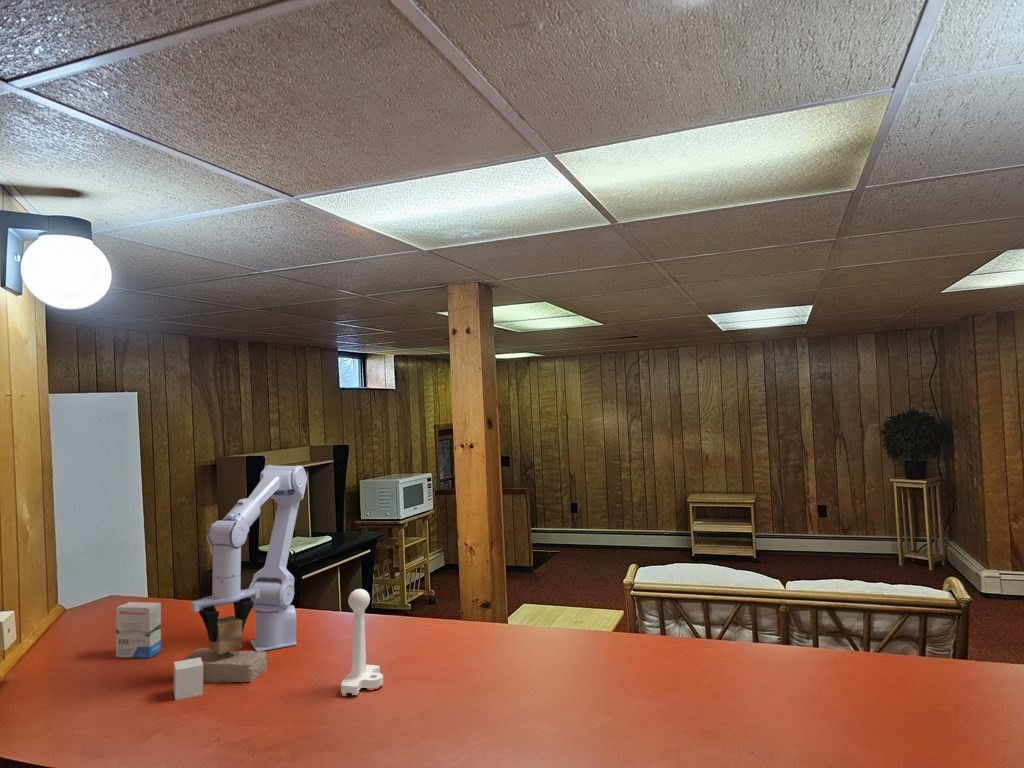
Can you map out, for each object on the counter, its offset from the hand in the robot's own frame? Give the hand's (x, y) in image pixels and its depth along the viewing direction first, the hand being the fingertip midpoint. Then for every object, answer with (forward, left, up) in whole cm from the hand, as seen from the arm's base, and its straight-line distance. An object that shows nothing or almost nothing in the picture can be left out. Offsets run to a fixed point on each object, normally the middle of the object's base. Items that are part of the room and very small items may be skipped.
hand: (225, 637), depth 145 cm
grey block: (+8, +7, -8) cm, 13 cm away
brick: (0, +1, -8) cm, 8 cm away
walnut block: (0, 0, -2) cm, 2 cm away
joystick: (-24, +23, -8) cm, 34 cm away
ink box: (+16, -23, -8) cm, 29 cm away
